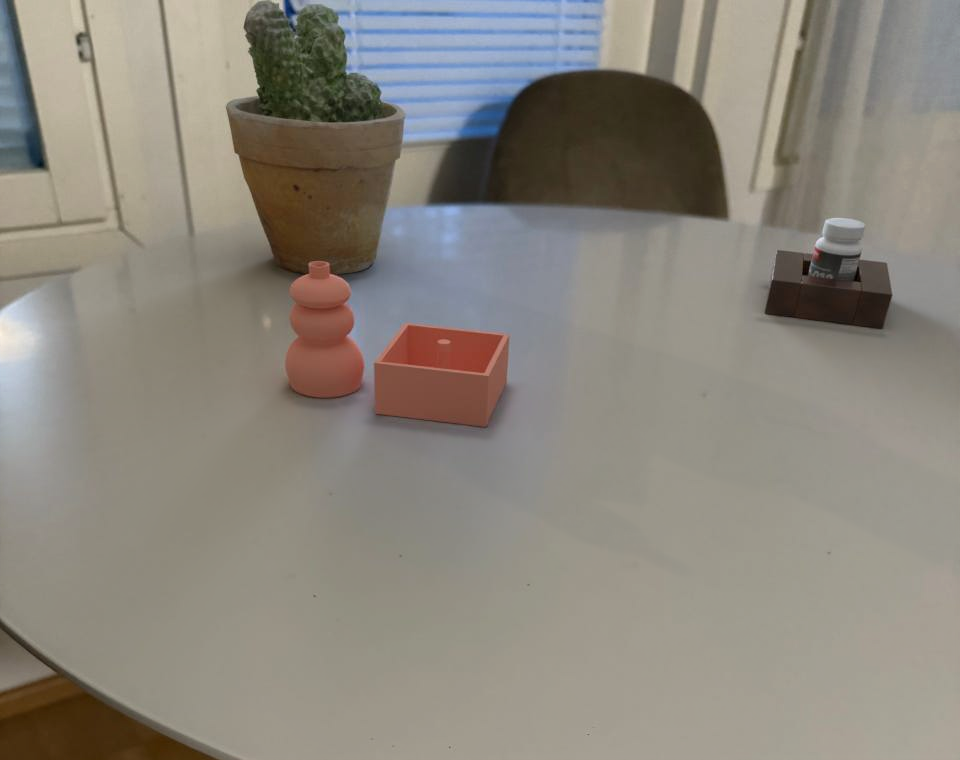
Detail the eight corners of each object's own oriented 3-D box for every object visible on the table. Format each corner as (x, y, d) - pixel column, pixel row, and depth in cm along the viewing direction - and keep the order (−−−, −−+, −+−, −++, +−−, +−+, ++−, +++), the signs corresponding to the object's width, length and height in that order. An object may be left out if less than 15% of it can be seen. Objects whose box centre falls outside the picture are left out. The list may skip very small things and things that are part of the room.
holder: (877, 294, 107) (887, 262, 105) (882, 329, 98) (892, 294, 96) (769, 281, 109) (776, 249, 107) (764, 313, 100) (771, 279, 98)
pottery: (506, 381, 83) (513, 265, 77) (486, 427, 75) (492, 301, 69) (308, 359, 85) (300, 244, 79) (269, 400, 78) (257, 277, 72)
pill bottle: (792, 299, 104) (811, 218, 99) (824, 295, 106) (845, 215, 101) (822, 313, 101) (844, 230, 96) (855, 308, 103) (878, 226, 98)
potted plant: (262, 234, 116) (239, -13, 101) (414, 242, 116) (414, -5, 101) (224, 280, 102) (190, -1, 87) (398, 289, 102) (395, 9, 86)
